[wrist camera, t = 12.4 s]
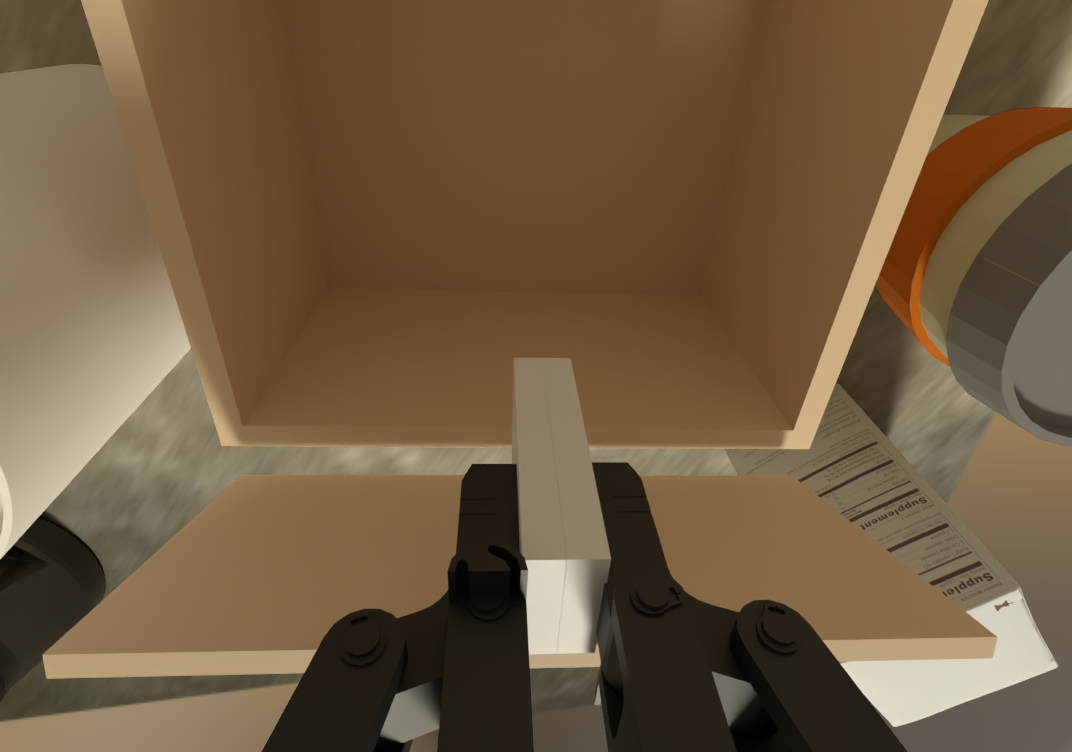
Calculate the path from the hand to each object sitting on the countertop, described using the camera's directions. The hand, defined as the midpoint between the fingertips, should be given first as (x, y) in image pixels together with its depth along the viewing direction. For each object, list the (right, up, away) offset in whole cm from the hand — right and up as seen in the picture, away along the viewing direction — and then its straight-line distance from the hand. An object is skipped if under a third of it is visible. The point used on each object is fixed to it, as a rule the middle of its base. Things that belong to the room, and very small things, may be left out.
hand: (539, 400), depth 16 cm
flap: (0, -4, +2) cm, 5 cm away
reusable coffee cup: (+22, +11, +18) cm, 30 cm away
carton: (-1, +15, +14) cm, 20 cm away
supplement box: (+20, -5, +28) cm, 35 cm away
